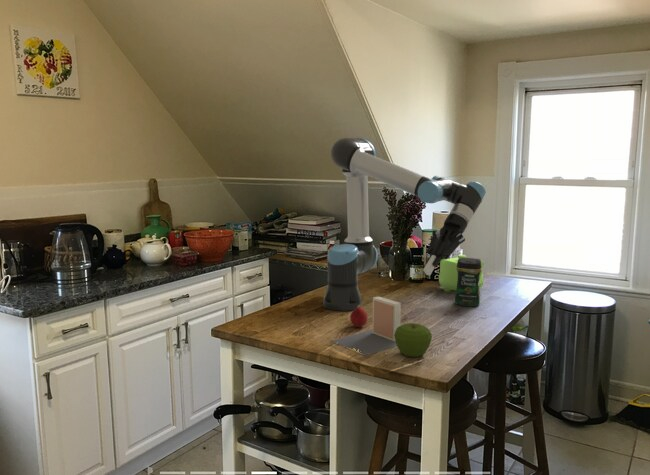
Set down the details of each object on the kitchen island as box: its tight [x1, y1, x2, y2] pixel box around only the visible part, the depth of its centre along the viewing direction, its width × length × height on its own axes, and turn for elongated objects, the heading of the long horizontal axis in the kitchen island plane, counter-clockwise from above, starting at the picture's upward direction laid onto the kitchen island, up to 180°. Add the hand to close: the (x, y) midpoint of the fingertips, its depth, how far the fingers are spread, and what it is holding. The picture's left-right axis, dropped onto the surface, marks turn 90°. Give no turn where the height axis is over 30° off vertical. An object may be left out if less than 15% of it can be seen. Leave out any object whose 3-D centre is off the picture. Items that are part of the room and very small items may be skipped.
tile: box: [372, 296, 402, 341], centre depth 174 cm, size 3×10×12 cm, turn 39°
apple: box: [394, 322, 433, 358], centre depth 159 cm, size 11×10×10 cm
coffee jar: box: [454, 257, 483, 307], centre depth 213 cm, size 10×8×19 cm
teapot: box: [438, 254, 485, 293], centre depth 236 cm, size 25×22×16 cm
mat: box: [331, 328, 398, 357], centre depth 172 cm, size 24×16×1 cm, turn 129°
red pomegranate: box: [349, 305, 368, 328], centre depth 184 cm, size 6×6×8 cm
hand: (426, 272), depth 183 cm, fingers closed
